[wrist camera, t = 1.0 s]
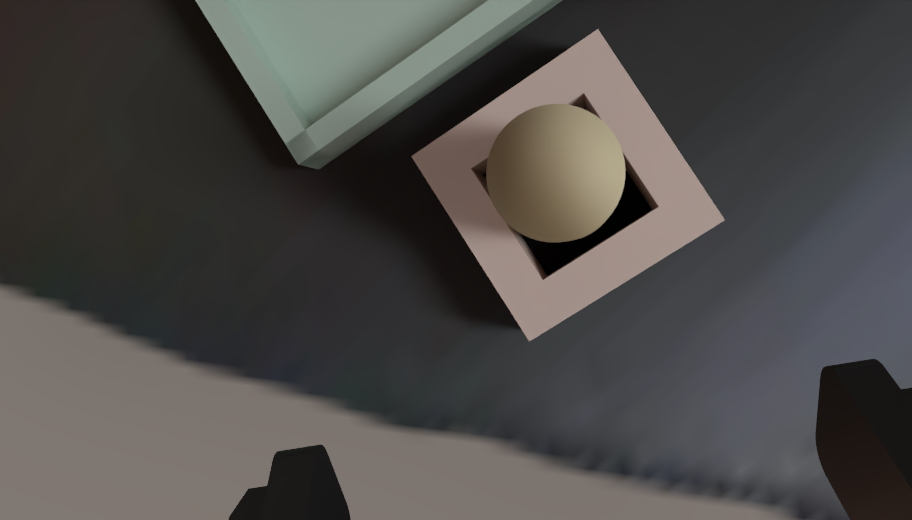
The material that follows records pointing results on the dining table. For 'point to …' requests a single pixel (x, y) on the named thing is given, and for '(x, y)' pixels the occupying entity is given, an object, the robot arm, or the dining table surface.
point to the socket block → (646, 160)
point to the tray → (355, 58)
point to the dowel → (555, 173)
